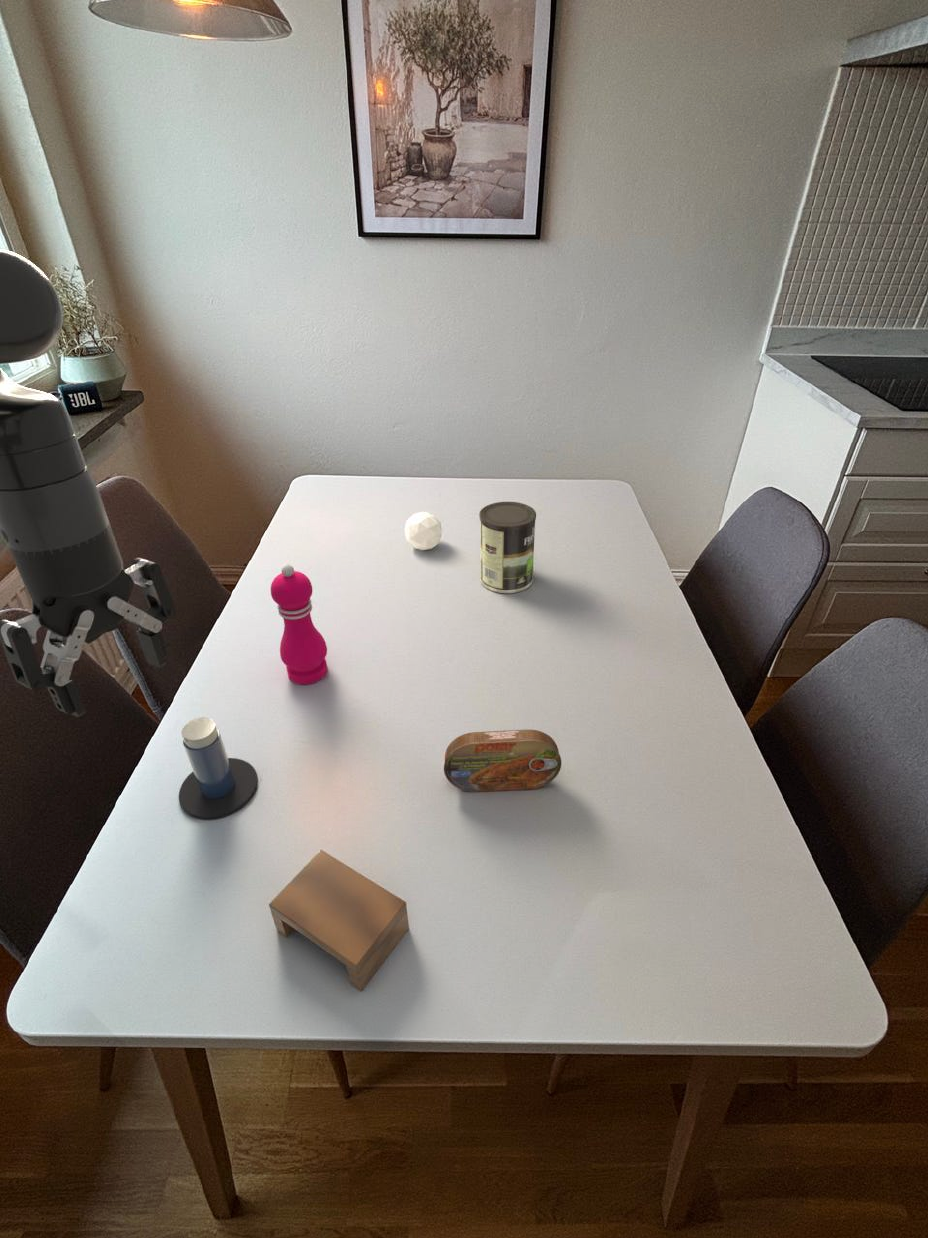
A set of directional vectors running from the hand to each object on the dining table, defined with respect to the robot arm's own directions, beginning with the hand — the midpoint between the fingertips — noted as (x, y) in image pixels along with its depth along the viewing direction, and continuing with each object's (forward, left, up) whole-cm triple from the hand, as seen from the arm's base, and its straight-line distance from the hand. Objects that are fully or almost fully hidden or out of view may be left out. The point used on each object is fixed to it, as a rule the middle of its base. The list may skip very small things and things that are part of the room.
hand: (118, 686), depth 64 cm
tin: (+31, -24, -29) cm, 48 cm away
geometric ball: (+77, +22, -29) cm, 85 cm away
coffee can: (+75, +1, -29) cm, 80 cm away
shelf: (+4, -20, -29) cm, 35 cm away
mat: (+10, +7, -29) cm, 31 cm away
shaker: (+10, +7, -28) cm, 30 cm away
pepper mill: (+34, +14, -29) cm, 47 cm away
